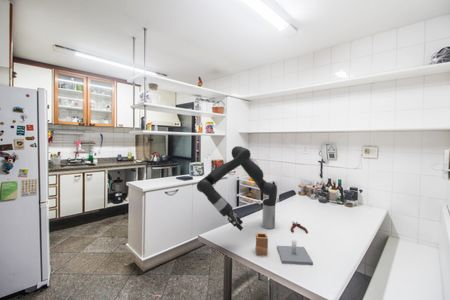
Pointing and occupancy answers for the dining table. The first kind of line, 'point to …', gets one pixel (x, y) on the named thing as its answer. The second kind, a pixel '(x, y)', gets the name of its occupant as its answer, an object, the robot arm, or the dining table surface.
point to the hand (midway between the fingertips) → (241, 226)
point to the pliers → (298, 226)
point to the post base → (294, 255)
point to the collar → (261, 244)
